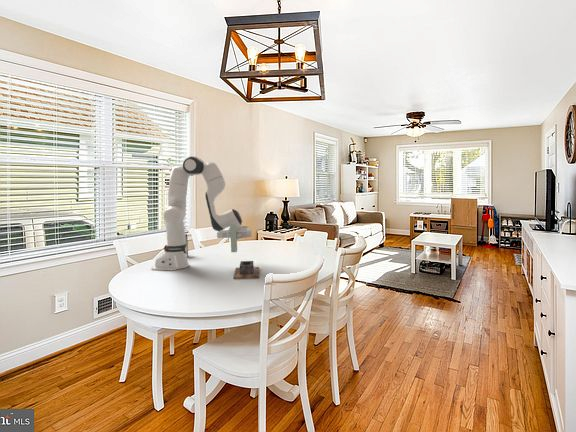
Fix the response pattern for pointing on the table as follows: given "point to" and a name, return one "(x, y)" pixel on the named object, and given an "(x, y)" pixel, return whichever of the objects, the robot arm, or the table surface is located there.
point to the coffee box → (186, 243)
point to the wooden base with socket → (246, 271)
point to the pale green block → (233, 237)
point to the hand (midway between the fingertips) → (233, 235)
